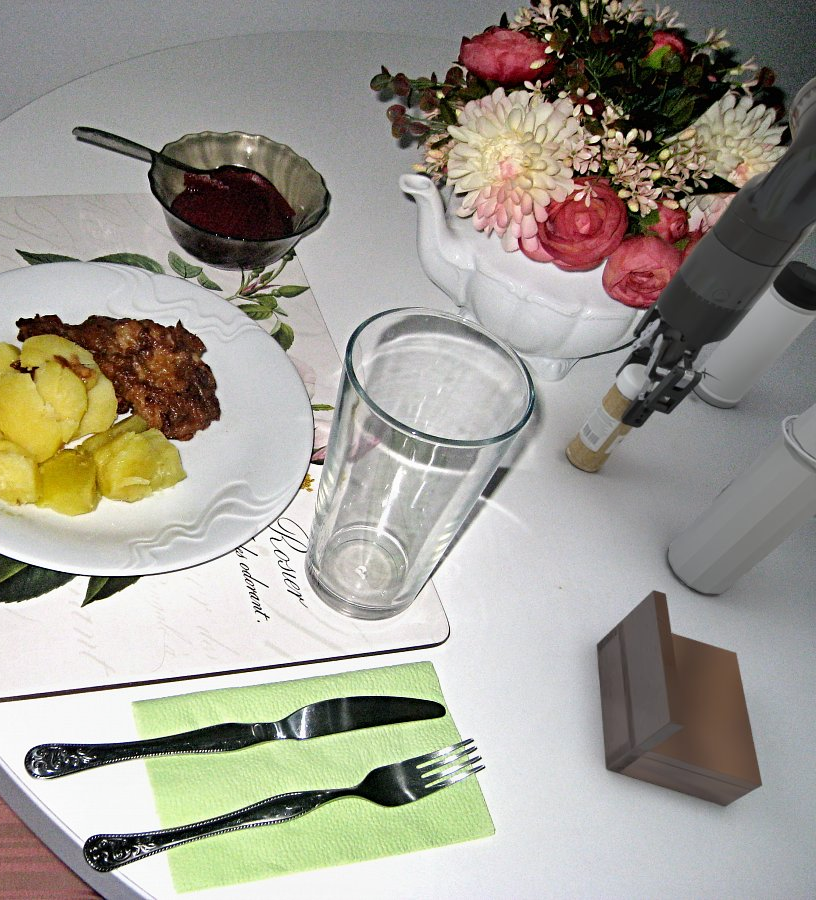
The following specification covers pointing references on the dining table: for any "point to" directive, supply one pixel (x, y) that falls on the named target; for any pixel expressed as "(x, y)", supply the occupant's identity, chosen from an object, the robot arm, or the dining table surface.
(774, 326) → the travel mug
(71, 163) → the dining table surface
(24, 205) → the dining table surface
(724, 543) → the water bottle
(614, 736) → the shelf
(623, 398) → the sprinkles bottle
